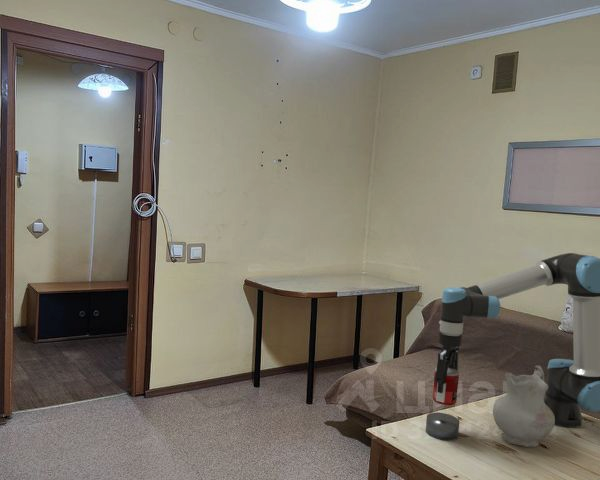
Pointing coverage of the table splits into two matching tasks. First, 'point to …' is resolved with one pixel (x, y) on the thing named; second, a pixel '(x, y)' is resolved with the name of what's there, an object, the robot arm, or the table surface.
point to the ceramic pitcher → (524, 410)
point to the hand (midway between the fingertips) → (444, 397)
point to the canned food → (448, 387)
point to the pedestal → (442, 426)
